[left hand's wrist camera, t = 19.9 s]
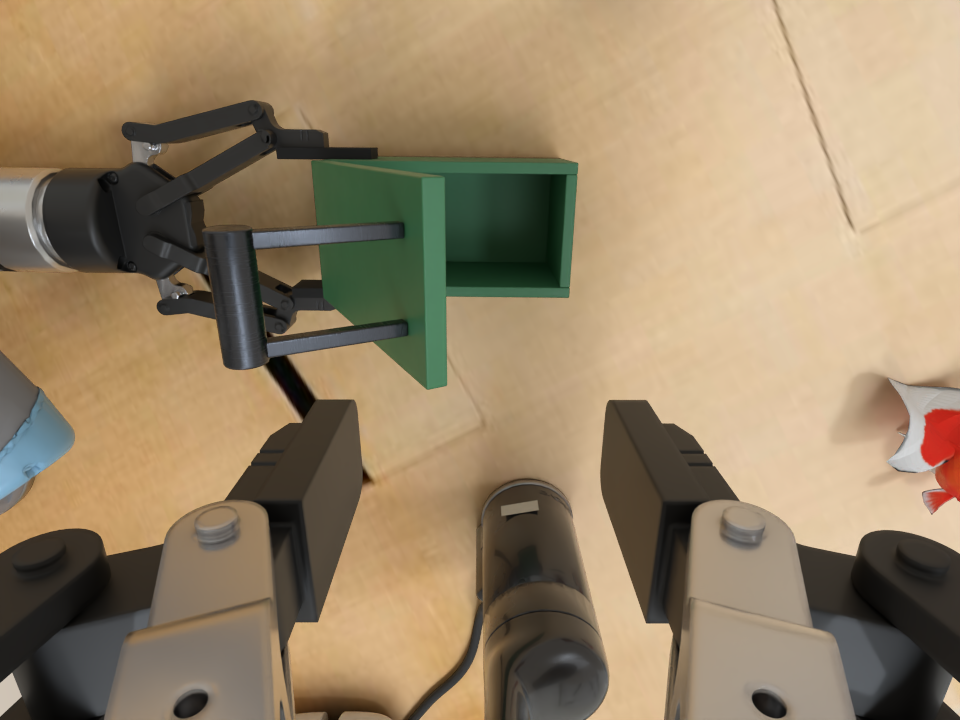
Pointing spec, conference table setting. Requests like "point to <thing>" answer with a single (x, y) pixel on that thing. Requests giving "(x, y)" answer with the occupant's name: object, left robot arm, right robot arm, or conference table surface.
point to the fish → (931, 439)
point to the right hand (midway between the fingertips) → (378, 224)
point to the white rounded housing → (342, 716)
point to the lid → (347, 271)
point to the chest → (502, 222)
